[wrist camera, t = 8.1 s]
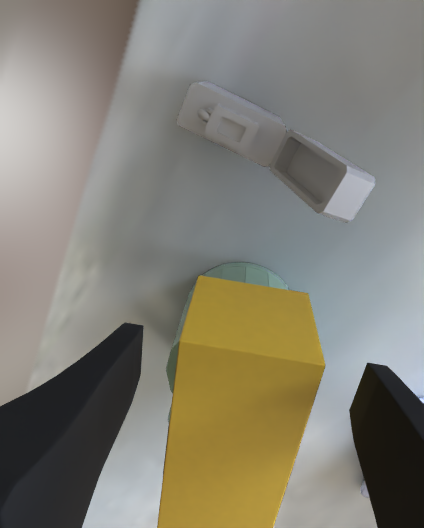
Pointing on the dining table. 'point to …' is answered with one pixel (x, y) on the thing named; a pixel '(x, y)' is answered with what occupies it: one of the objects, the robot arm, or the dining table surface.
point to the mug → (227, 272)
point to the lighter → (277, 150)
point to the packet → (238, 404)
